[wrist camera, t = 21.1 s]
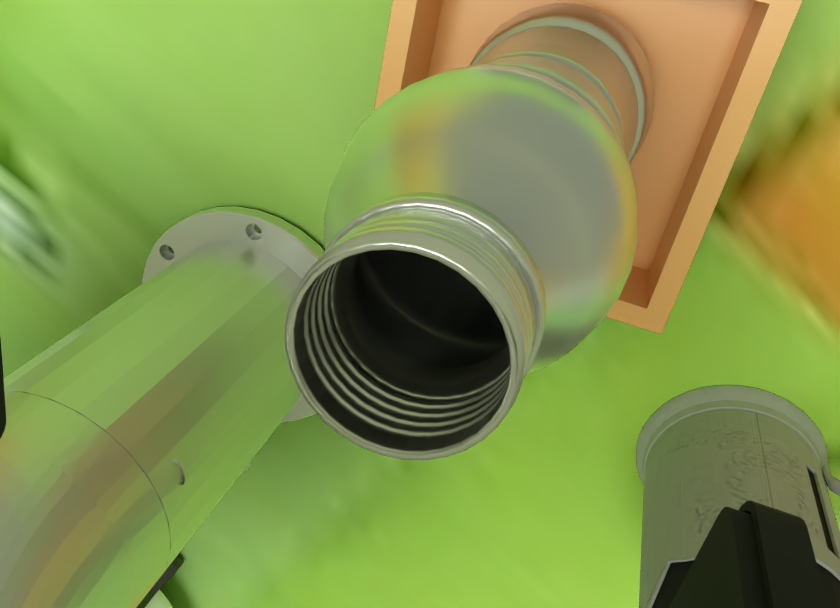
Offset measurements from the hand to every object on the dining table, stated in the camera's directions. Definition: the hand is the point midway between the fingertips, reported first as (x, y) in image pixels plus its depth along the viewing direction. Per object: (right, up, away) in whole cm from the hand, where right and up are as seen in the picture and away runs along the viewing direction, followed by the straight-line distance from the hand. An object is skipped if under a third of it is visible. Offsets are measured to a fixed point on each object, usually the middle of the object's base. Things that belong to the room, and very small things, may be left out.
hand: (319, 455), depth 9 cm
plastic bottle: (+7, +10, +19) cm, 22 cm away
